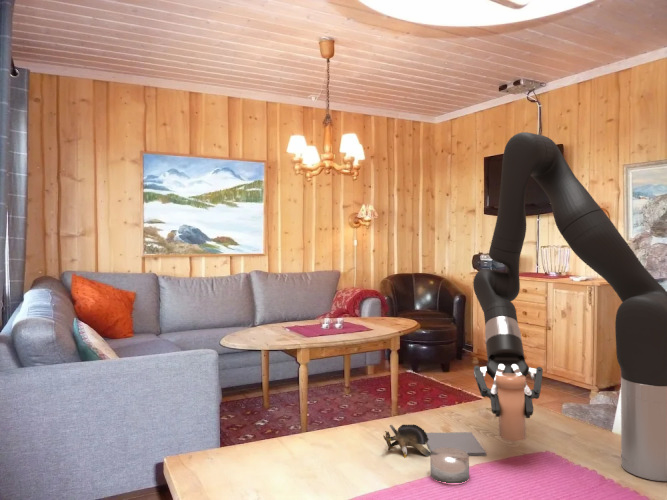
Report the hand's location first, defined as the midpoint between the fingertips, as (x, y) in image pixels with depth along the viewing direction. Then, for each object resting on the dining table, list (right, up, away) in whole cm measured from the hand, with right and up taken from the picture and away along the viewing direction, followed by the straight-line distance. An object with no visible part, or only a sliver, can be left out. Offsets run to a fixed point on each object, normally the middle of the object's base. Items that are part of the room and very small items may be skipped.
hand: (513, 415), depth 97 cm
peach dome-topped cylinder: (+1, -5, +2) cm, 5 cm away
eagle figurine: (-20, -10, +6) cm, 23 cm away
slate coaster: (-9, -10, +10) cm, 17 cm away
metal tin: (-13, -10, -4) cm, 17 cm away
